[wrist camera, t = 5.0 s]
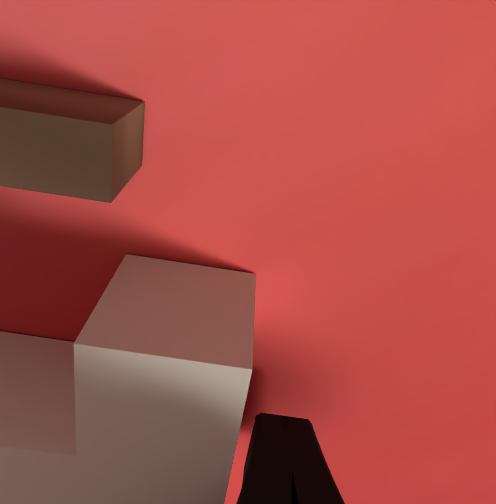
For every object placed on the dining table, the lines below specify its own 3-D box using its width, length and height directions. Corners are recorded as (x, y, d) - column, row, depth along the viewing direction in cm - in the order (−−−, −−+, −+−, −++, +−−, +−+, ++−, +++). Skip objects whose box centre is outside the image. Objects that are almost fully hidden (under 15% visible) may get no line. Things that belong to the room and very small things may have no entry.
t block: (211, 505, 14) (198, 625, 11) (-57, 469, 13) (-139, 584, 11) (255, 274, 10) (252, 369, 7) (-114, 216, 10) (-262, 295, 7)
